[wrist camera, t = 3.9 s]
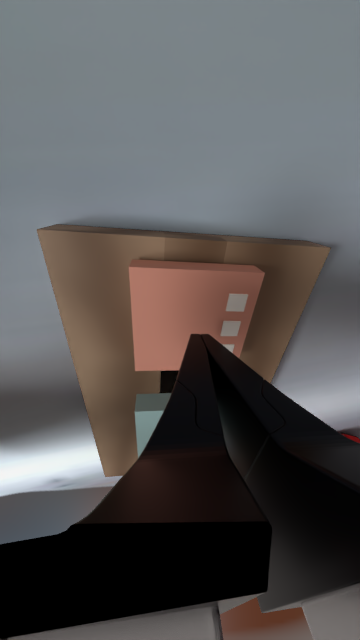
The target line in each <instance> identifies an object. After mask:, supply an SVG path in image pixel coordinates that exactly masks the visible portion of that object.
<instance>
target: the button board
mask: <svg viewBox="0 0 360 640" xmlns="http://www.w3.org/2000/svg"><path fill="white" fill-rule="evenodd" d="M37 233H38V236H39V240H40V244H41V247H42V251H43V254H44V258H45V262H46V265H47V269H48V273H49V276H50V280H51V283H52V287H53V291H54V294H55V298H56V301H57V305H58V309H59V312H60V316H61V319H62V323H63V327H64V330H65V334H66V337H67V341H68V345H69V348H70V352H71V355H72V359H73V363H74V366H75V370H76V373H77V377H78V381H79V384H80V388H81V392H82V395H83V399H84V402H85V406H86V410H87V413H88V417H89V420H90V424H91V428H92V431H93V435H94V438H95V442H96V446H97V449H98V453H99V456H100V460H101V464H102V467H103V471H104V474H105V477H110V476H124V474H125V473H126V472H127V471H128V470H129V469H130V468H131V466H132V465H133V464H134V463H135V462H136V461H137V459H138V450H137V437H136V423H135V404H136V395H137V394H158V393H160V377H161V371H135V360H134V344H133V327H132V311H131V295H130V279H129V265H130V263H131V261H132V259H134V260H154V261H175V262H195V263H215V264H236V265H254V266H256V267H257V268H259V269H260V270H261V271H263V272H264V273H265V275H264V278H263V281H262V285H261V288H260V291H259V295H258V298H257V301H256V305H255V308H254V311H253V314H252V318H251V321H250V324H249V328H248V331H247V334H246V338H245V341H244V344H243V348H242V351H241V354H240V357H239V359H241V360H242V361H243V362H244V363H245V364H247V365H248V366H249V367H250V368H252V369H253V370H254V371H255V372H257V373H258V374H259V375H260V376H261V377H263V378H264V379H265V380H267V381H268V382H269V383H271V381H272V378H273V376H274V374H275V372H276V369H277V367H278V365H279V363H280V361H281V358H282V356H283V354H284V352H285V349H286V347H287V345H288V343H289V341H290V338H291V336H292V334H293V332H294V329H295V327H296V325H297V323H298V320H299V318H300V316H301V314H302V312H303V309H304V307H305V305H306V303H307V300H308V298H309V296H310V294H311V292H312V289H313V287H314V285H315V283H316V280H317V278H318V276H319V274H320V271H321V269H322V267H323V265H324V263H325V260H326V258H327V256H328V254H329V251H330V249H331V248H330V247H326V246H323V245H319V244H316V243H312V242H309V241H301V240H286V239H271V238H256V237H241V236H226V235H211V234H196V233H180V232H165V231H150V230H135V229H120V228H105V227H90V226H75V225H60V224H56V225H52V226H48V227H44V228H40V229H37Z"/></svg>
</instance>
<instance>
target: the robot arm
mask: <svg viewBox="0 0 360 640" xmlns="http://www.w3.org/2000/svg"><path fill="white" fill-rule="evenodd" d="M255 597H257V598H258V602H259V606H260V609H261V612H262V613H266V612H271V611H278V610H284V609H290V608H296V607H302V609H303V611H304V614H305V617H306V620H307V623H308V626H309V628H310V631H311V634H312V637H313V640H360V443H358V442H355V441H353V440H351V439H349V438H347V437H345V436H344V435H342V434H340V433H339V432H337V431H336V430H334V429H333V428H331V427H330V426H328V425H327V424H325V423H324V422H323V421H321V420H320V419H318V418H317V417H315V416H314V415H313V414H311V413H310V412H308V411H307V410H305V409H304V408H302V407H301V406H300V405H298V404H297V403H295V402H294V401H293V400H291V399H290V398H288V397H287V396H286V395H284V394H283V393H282V392H280V391H279V390H278V389H277V388H275V387H274V386H273V385H271V384H270V383H269V382H268V381H267V380H265V379H264V378H263V377H261V376H260V375H259V374H258V373H257V372H255V371H254V370H253V369H252V368H250V367H249V366H248V365H247V364H245V363H244V362H243V361H242V360H241V359H239V358H238V357H237V356H236V355H234V354H233V353H232V352H231V351H229V350H228V349H227V348H226V347H224V346H223V345H222V344H221V343H220V342H218V341H217V340H216V339H215V338H213V337H212V336H211V335H210V334H191V335H190V338H189V341H188V344H187V347H186V350H185V353H184V356H183V360H182V363H181V366H180V369H179V372H178V375H177V378H176V382H175V384H174V388H173V390H172V393H171V396H170V399H169V401H168V403H167V405H166V407H165V409H164V412H163V414H162V416H161V417H160V419H159V421H158V423H157V425H156V427H155V429H154V431H153V433H152V435H151V437H150V439H149V441H148V443H147V444H146V446H145V448H144V450H143V451H142V453H141V455H140V456H139V458H138V459H137V461H136V462H135V463H134V464H133V465H132V466H131V468H130V469H129V470H128V471H127V472H126V473H125V474H124V476H123V477H122V478H121V479H120V480H119V481H118V482H117V484H116V485H115V486H114V487H113V488H112V489H111V491H110V492H109V493H108V494H107V495H106V496H105V497H104V498H103V499H102V501H101V502H100V503H99V504H98V505H97V506H96V507H95V509H94V510H92V512H90V514H88V515H87V516H86V517H85V518H83V519H82V520H80V521H79V522H77V523H75V524H73V525H71V526H70V527H69V528H68V529H67V530H66V531H64V532H62V533H60V534H57V535H52V536H45V537H40V538H34V539H29V540H23V541H17V542H11V543H6V544H1V545H0V640H223V633H222V627H221V620H220V614H221V613H223V612H225V611H228V610H230V609H232V608H234V607H236V606H238V605H240V604H242V603H244V602H247V601H249V600H251V599H253V598H255Z"/></svg>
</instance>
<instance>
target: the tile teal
mask: <svg viewBox="0 0 360 640" xmlns="http://www.w3.org/2000/svg"><path fill="white" fill-rule="evenodd" d="M171 393H172V392H171ZM171 393H158V394H137V395H136V404H135V423H136V437H137V450H138V458H139V456H140V455H141V453H142V451H143V450H144V448H145V446H146V444H147V443H148V441H149V439H150V437H151V435H152V433H153V431H154V429H155V427H156V425H157V423H158V421H159V419H160V417H161V416H162V414H163V412H164V409H165V407H166V405H167V403H168V401H169V399H170V396H171Z"/></svg>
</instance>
